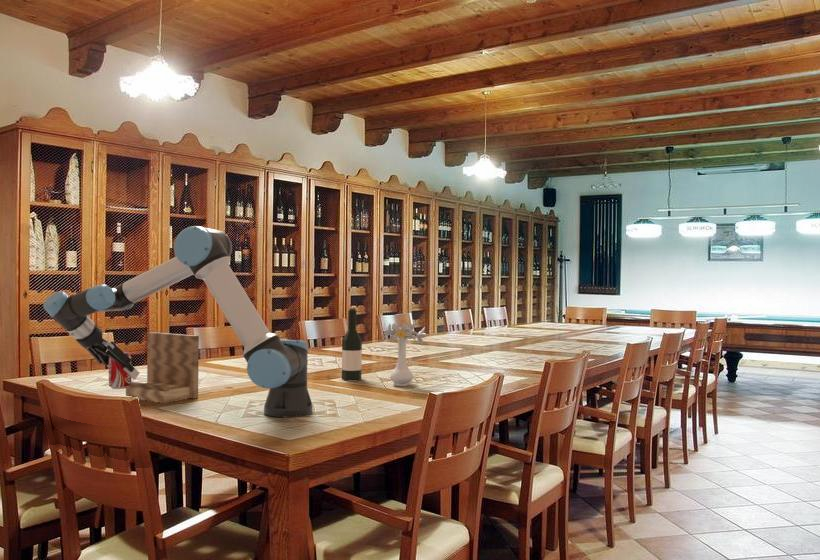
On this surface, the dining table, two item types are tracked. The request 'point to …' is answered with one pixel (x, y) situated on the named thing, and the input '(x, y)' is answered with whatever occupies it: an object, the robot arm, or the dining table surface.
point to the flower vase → (403, 351)
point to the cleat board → (169, 369)
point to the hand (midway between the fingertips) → (129, 375)
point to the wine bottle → (351, 350)
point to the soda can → (118, 375)
